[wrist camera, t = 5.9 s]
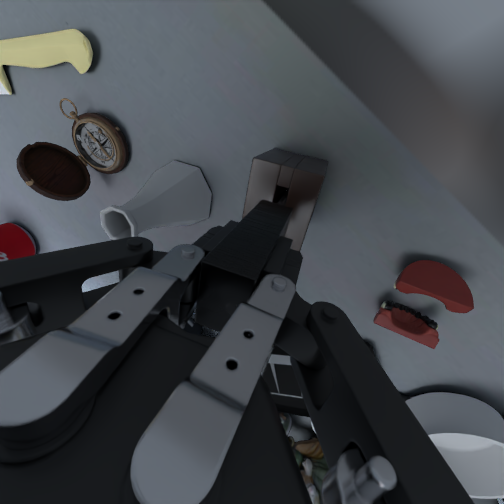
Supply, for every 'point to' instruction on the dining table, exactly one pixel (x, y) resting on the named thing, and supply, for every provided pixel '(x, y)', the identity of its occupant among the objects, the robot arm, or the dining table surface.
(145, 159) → the dining table surface
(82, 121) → the compass
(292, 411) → the light switch
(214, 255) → the chef knife
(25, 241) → the beverage can
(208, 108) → the dining table surface
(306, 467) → the figurine
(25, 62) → the knife
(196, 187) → the flask
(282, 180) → the knife block
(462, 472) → the saucepan
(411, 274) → the dentures model
